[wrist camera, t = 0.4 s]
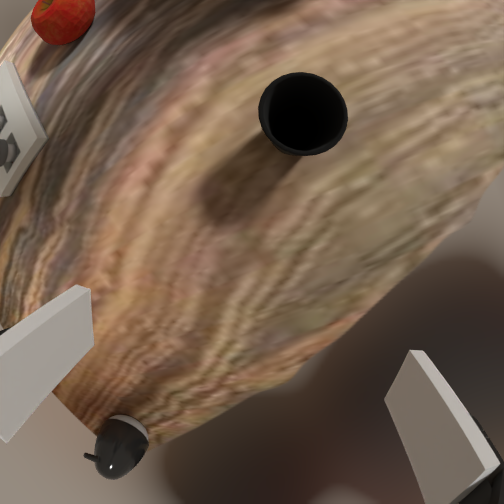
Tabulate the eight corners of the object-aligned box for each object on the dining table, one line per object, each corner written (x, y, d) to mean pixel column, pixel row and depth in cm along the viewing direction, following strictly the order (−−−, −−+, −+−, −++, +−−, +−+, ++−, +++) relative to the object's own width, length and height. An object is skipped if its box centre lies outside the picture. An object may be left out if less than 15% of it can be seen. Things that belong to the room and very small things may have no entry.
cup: (275, 172, 35) (278, 168, 23) (252, 116, 33) (244, 88, 22) (332, 152, 34) (361, 140, 22) (309, 97, 32) (326, 62, 21)
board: (14, 63, 31) (4, 60, 28) (49, 138, 35) (37, 137, 32) (-20, 115, 34) (-29, 114, 31) (10, 195, 38) (-1, 197, 35)
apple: (112, -5, 28) (82, -34, 18) (89, 45, 31) (51, 23, 21) (67, 5, 28) (36, -16, 18) (46, 53, 31) (9, 38, 21)
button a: (14, 134, 33) (-5, 133, 28) (22, 152, 33) (2, 152, 29) (2, 153, 34) (-16, 154, 29) (10, 171, 34) (-9, 173, 30)
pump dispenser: (125, 400, 46) (93, 455, 32) (163, 433, 48) (141, 489, 33) (101, 413, 48) (70, 461, 34) (135, 443, 50) (113, 492, 35)
